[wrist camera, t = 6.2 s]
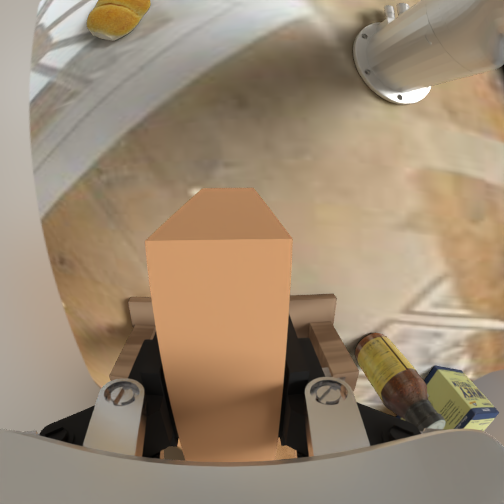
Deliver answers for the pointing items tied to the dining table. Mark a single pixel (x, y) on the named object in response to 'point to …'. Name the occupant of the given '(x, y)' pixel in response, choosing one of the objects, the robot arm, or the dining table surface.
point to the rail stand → (304, 321)
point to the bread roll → (116, 17)
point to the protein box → (458, 400)
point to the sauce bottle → (397, 382)
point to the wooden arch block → (223, 322)
